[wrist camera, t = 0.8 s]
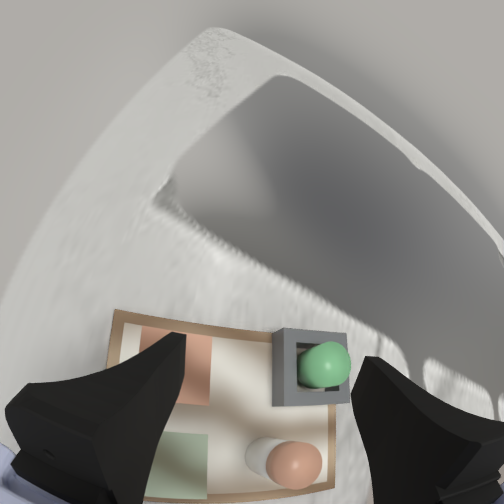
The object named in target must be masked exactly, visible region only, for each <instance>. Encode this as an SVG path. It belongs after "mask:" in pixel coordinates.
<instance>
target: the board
mask: <svg viewBox="0 0 504 504" xmlns="http://www.w3.org/2000/svg"><path fill="white" fill-rule="evenodd" d="M170 332H177V333H182V334H187V338H186V356H185V376H184V379H183V383H182V387H181V390H180V393H179V396H178V399H177V401H176V403H175V406H174V408H173V410H172V412H171V415H170V417H169V419H168V421H167V424H166V426H165V428H164V431H163V433H162V435H161V438H160V440H159V443H158V446H157V449H156V453H155V456H154V460H153V463H152V467H151V471H150V474H149V478H148V482H147V486H146V490H145V495H144V499H143V501H154V502H168V503H195V504H209V503H236V502H250V501H261V500H270V499H278V498H285V497H291V496H298V495H303V494H309V493H314V492H319V491H324V490H328V489H332V488H335V460H336V404H331V405H315V406H288V407H272V334H273V333H268V332H258V331H250V330H241V329H233V328H226V327H218V326H211V325H204V324H197V323H191V322H184V321H178V320H172V319H166V318H160V317H154V316H149V315H143V314H138V313H133V312H127V311H122V310H117V309H115V312H114V318H113V324H112V330H111V337H110V344H109V351H108V359H107V367H106V369H108V368H111V367H113V366H115V365H118V364H120V363H122V362H124V361H126V360H128V359H129V358H131V357H133V356H135V355H137V354H138V353H140V352H142V351H143V350H145V349H146V348H148V347H150V346H151V345H153V344H154V343H155V342H157V341H158V340H160V339H161V338H163V337H164V336H166V335H167V334H169V333H170ZM305 350H307V349H302V348H296V354H297V358H298V356H299V355H300V354H301V353H302V352H303V351H305ZM297 392H325V388H320V389H309V388H307V387H305V386H303V385H302V384H301V383H300V381H299V380H298V378H297ZM262 437H271V438H276V439H281V440H287V441H298V442H305V443H309V444H312V445H313V446H315V447H316V448H317V449H318V450H319V452H320V454H321V456H322V469H321V472H320V474H319V476H318V478H317V479H316V480H315V481H314V482H313V483H312V484H311V485H309V486H308V487H306V488H303V489H298V490H293V489H289V488H286V487H284V486H281V485H279V484H277V483H275V482H273V481H272V480H269V479H267V478H265V477H263V476H261V475H259V474H257V473H255V472H253V471H251V470H250V469H249V468H248V466H247V464H246V462H245V453H246V450H247V448H248V446H249V445H250V444H251V443H252V442H253V441H254V440H256V439H258V438H262Z"/></svg>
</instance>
